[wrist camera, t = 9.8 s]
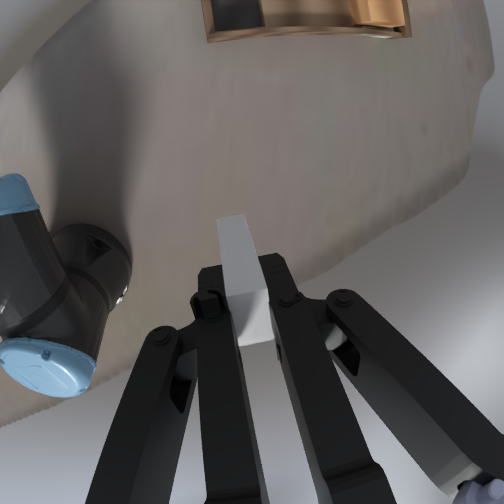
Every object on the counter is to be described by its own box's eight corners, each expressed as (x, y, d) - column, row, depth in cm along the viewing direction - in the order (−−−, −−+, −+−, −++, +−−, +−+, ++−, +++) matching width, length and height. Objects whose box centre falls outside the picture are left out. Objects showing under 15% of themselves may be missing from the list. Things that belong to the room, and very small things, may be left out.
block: (352, 25, 31) (370, 20, 26) (347, -8, 28) (365, -16, 24) (384, 28, 31) (405, 25, 27) (380, -3, 28) (399, -10, 24)
